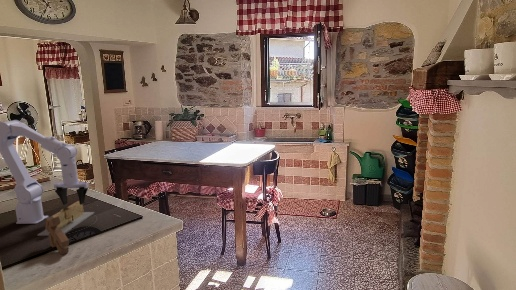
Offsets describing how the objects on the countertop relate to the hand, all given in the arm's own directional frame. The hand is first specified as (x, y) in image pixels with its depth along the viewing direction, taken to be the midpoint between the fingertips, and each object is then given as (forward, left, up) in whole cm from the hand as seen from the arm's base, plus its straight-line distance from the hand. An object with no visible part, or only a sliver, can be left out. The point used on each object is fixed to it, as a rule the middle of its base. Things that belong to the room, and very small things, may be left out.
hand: (73, 203), depth 152 cm
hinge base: (0, -10, -6) cm, 11 cm away
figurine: (+11, -28, -7) cm, 31 cm away
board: (0, -5, -7) cm, 9 cm away
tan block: (0, -2, -6) cm, 6 cm away
